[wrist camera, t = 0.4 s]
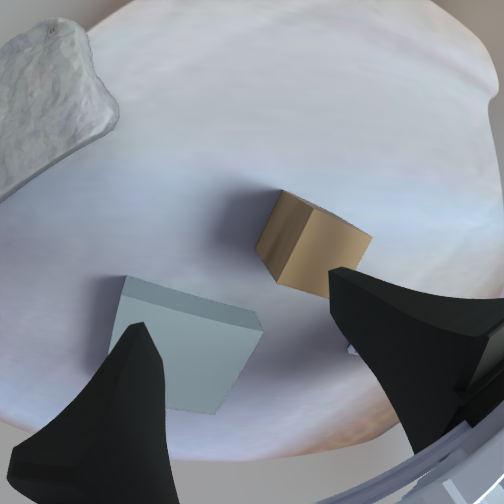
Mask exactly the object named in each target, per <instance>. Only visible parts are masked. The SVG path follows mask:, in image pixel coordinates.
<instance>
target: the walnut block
mask: <svg viewBox="0 0 504 504" xmlns="http://www.w3.org/2000/svg"><path fill="white" fill-rule="evenodd" d="M372 238H373V237H371V236H370V235H368V234H366V233H365V232H363V231H362V230H360V229H358V228H357V227H355V226H353V225H352V224H350V223H348V222H347V221H345V220H343V219H342V218H340V217H338V216H337V215H335V214H333V213H331V212H329V211H327V210H325V209H323V208H321V207H319V206H317V205H315V204H312V203H310V202H308V201H306V200H304V199H302V198H300V197H297V196H295V195H293V194H291V193H289V192H287V191H284V190H282V192H281V194H280V196H279V198H278V200H277V203H276V205H275V207H274V209H273V211H272V213H271V215H270V218H269V220H268V222H267V224H266V226H265V228H264V230H263V232H262V235H261V237H260V239H259V241H258V243H257V245H256V247H255V250H256V252H257V253H258V255H259V257H260V258H261V260H262V261H263V263H264V264H265V266H266V267H267V269H268V271H269V272H270V274H271V275H272V277H273V278H274V280H275V281H276V283H278V284H281V285H284V286H288V287H291V288H294V289H298V290H301V291H304V292H308V293H311V294H314V295H318V296H321V297H325V298H328V299H329V279H328V271H329V270H332V269H335V268H338V267H341V266H342V267H346V268H349V269H352V270H356V268H357V266H358V264H359V262H360V260H361V259H362V257H363V255H364V253H365V251H366V249H367V247H368V245H369V243H370V242H371V240H372Z"/></svg>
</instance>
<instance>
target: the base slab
mask: <svg viewBox="0 0 504 504" xmlns="http://www.w3.org/2000/svg"><path fill="white" fill-rule="evenodd" d="M143 321H144V323H145V325H146V327H147V329H148V331H149V334H150V336H151V338H152V340H153V342H154V344H155V346H156V348H157V350H158V352H159V354H160V356H161V358H162V360H163V366H164V375H165V408H171V409H177V410H183V411H189V412H196V413H204V414H212V415H215V414H216V413H217V411H218V409H219V408H220V406H221V404H222V403H223V401H224V400H225V398H226V396H227V395H228V393H229V391H230V390H231V388H232V386H233V385H234V383H235V381H236V380H237V378H238V376H239V374H240V373H241V371H242V369H243V368H244V366H245V364H246V362H247V361H248V359H249V357H250V356H251V354H252V352H253V350H254V349H255V347H256V345H257V343H258V342H259V340H260V338H261V336H262V334H263V333H264V331H263V329H262V327H261V324H260V322H259V320H258V318H257V315H256V313H255V312H253V311H249V310H245V309H241V308H237V307H234V306H230V305H226V304H222V303H219V302H215V301H211V300H208V299H204V298H200V297H197V296H193V295H190V294H186V293H183V292H179V291H176V290H172V289H169V288H166V287H162V286H159V285H156V284H153V283H149V282H146V281H143V280H140V279H136V278H133V277H130V276H126V280H125V283H124V286H123V290H122V293H121V297H120V301H119V305H118V310H117V314H116V318H115V323H114V327H113V332H112V337H111V342H110V347H109V352H108V355H109V354H110V352H111V351H112V349H113V348H114V346H115V345H116V343H117V342H118V340H119V338H120V337H121V335H122V334H123V333H124V331H125V330H126V328H127V327H128V326H129V325H130V324H135V323H139V322H143Z"/></svg>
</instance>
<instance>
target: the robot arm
mask: <svg viewBox="0 0 504 504" xmlns="http://www.w3.org/2000/svg"><path fill="white" fill-rule="evenodd" d="M328 279H329V300H330V313H331V315H332V317H333V319H334V321H335V322H336V324H337V326H338V327H339V329H340V331H341V332H342V334H343V335H344V336H345V337H346V339H347V340H348V341H349V343H350V346H349V347H348V349H347V351H348V353H349V354H353V355H360V356H361V358H362V359H363V360H364V362H365V363H366V364H367V365H368V367H369V368H370V369H371V371H372V372H373V373H374V375H375V376H376V378H377V380H378V381H379V383H380V385H381V386H382V388H383V390H384V391H385V393H386V395H387V397H388V399H389V400H390V402H391V404H392V406H393V408H394V410H395V412H396V414H397V416H398V418H399V420H400V422H401V424H402V426H403V428H404V430H405V432H406V435H407V437H408V440H409V442H410V445H411V447H412V449H413V452H414V456H413V457H411V458H409V459H408V460H406V461H404V462H402V463H401V464H399V465H397V466H395V467H394V468H392V469H390V470H388V471H386V472H384V473H382V474H380V475H379V476H377V477H375V478H373V479H370V480H368V481H366V482H365V483H362V484H360V485H358V486H356V487H353V488H351V489H349V490H347V491H344V492H342V493H339V494H337V495H334V496H332V497H329V498H327V499H324V500H321V501H318V502H316V503H313V504H372V503H374V502H376V501H378V500H380V499H382V498H384V497H386V496H388V495H390V494H392V493H394V492H395V491H397V490H399V489H401V488H403V487H404V486H406V485H407V484H409V483H411V482H413V481H414V480H416V479H417V478H419V477H421V476H422V475H424V474H425V473H427V472H428V471H430V470H431V469H432V470H431V471H430V472H428V473H427V474H426V475H424V476H423V477H422V478H421V479H419V480H418V482H417V484H416V485H415V486H414V487H413V489H412V490H410V491H409V492H408V493H407V494H406V495H404V496H403V497H402V500H401V501H399V502H397V503H395V504H488V503H487V502H486V500H485V499H484V497H485V495H487V494H488V493H489V492H490V491H491V490H492V489H493V488H494V487H495V486H496V485H497V484H498V483H499V484H500V485H501V486H502V487H503V489H504V298H497V299H463V298H453V297H445V296H438V295H433V294H428V293H423V292H419V291H415V290H411V289H407V288H404V287H401V286H397V285H394V284H391V283H388V282H385V281H382V280H380V279H377V278H374V277H371V276H369V275H366V274H363V273H361V272H358V271H355V270H352V269H349V268H346V267H342V266H341V267H338V268H335V269H332V270H329V271H328ZM434 467H435V468H434ZM433 468H434V469H433ZM7 480H8V482H9V483H10V485H11V486H12V487H13V488H14V489H15V490H17V491H18V492H20V493H21V494H23V495H24V496H26V497H27V498H29V499H31V500H32V501H34V502H36V503H37V504H180V503H179V500H178V497H177V492H176V489H175V484H174V480H173V476H172V471H171V466H170V461H169V455H168V449H167V442H166V431H165V375H164V366H163V360H162V358H161V356H160V354H159V352H158V350H157V348H156V346H155V344H154V342H153V340H152V338H151V336H150V334H149V331H148V329H147V327H146V325H145V323H144V321H143V322H139V323H135V324H130V325H129V326H128V327H127V328H126V330H125V331H124V333H123V334H122V335H121V337H120V338H119V340H118V342H117V343H116V345H115V346H114V348H113V349H112V351H111V352H110V354H109V355H108V357H107V358H106V360H105V361H104V362H103V364H102V365H101V366H100V368H99V369H98V371H97V372H96V373H95V375H94V376H93V377H92V379H91V380H90V381H89V383H88V384H87V385H86V386H85V388H84V389H83V390H82V391H81V392H80V393H79V394H78V396H77V397H76V398H75V399H74V400H73V401H72V402H71V403H70V404H69V405H68V406H67V407H66V408H65V409H64V410H63V411H62V412H61V413H60V414H59V415H58V416H57V417H56V418H54V419H53V420H52V421H51V422H50V423H48V424H47V425H46V426H45V427H43V428H42V429H41V430H40V431H38V432H37V433H36V434H34V435H33V436H31V437H30V438H28V439H27V440H25V441H24V442H22V443H20V444H19V445H17V446H15V447H14V448H13V450H12V454H11V459H10V463H9V468H8V472H7Z"/></svg>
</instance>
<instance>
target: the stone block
mask: <svg viewBox="0 0 504 504" xmlns="http://www.w3.org/2000/svg"><path fill="white" fill-rule="evenodd" d="M118 119H119V105H118V103H117V102H116V100H115V98H114V97H113V96H112V95H111V94H110V92H109V91H108V90H107V89H106V88H105V86H104V84H103V82H102V81H101V79H100V78H99V77H97V75H96V73H95V70H94V65H93V53H92V50H91V47H90V44H89V38H88V35H87V33H86V32H85V31H84V29H83V28H82V27H80V26H79V25H78V24H77V23H76V22H74V21H72V20H67V19H64V18H61V17H55V18H46V19H44V20H42V21H40V22H39V23H38V24H37V25H35V26H34V27H33V28H32V29H31V30H29V31H28V32H26V33H23V34H19V35H17V36H16V37H14V38H13V39H11V40H10V41H9V42H7V43H6V44H5V45H4V46H3V47H2V48H1V49H0V203H2V202H3V201H4V200H5V199H7V198H8V197H9V196H11V195H12V194H13V193H14V192H16V191H17V190H18V189H20V188H21V187H22V186H24V185H25V184H26V183H28V182H29V181H31V180H32V179H34V178H35V177H36V176H38V175H39V174H41V173H42V172H44V171H45V170H47V169H48V168H50V167H51V166H53V165H55V164H56V163H58V162H59V161H61V160H62V159H64V158H65V157H67V156H69V155H70V154H72V153H74V152H75V151H77V150H79V149H81V148H82V147H84V146H86V145H88V144H89V143H91V142H93V141H95V140H97V139H99V138H101V137H103V136H105V135H106V134H107V133H109V132H110V131H112V130H113V129H114V127H115V125H116V123H117V121H118Z"/></svg>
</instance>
